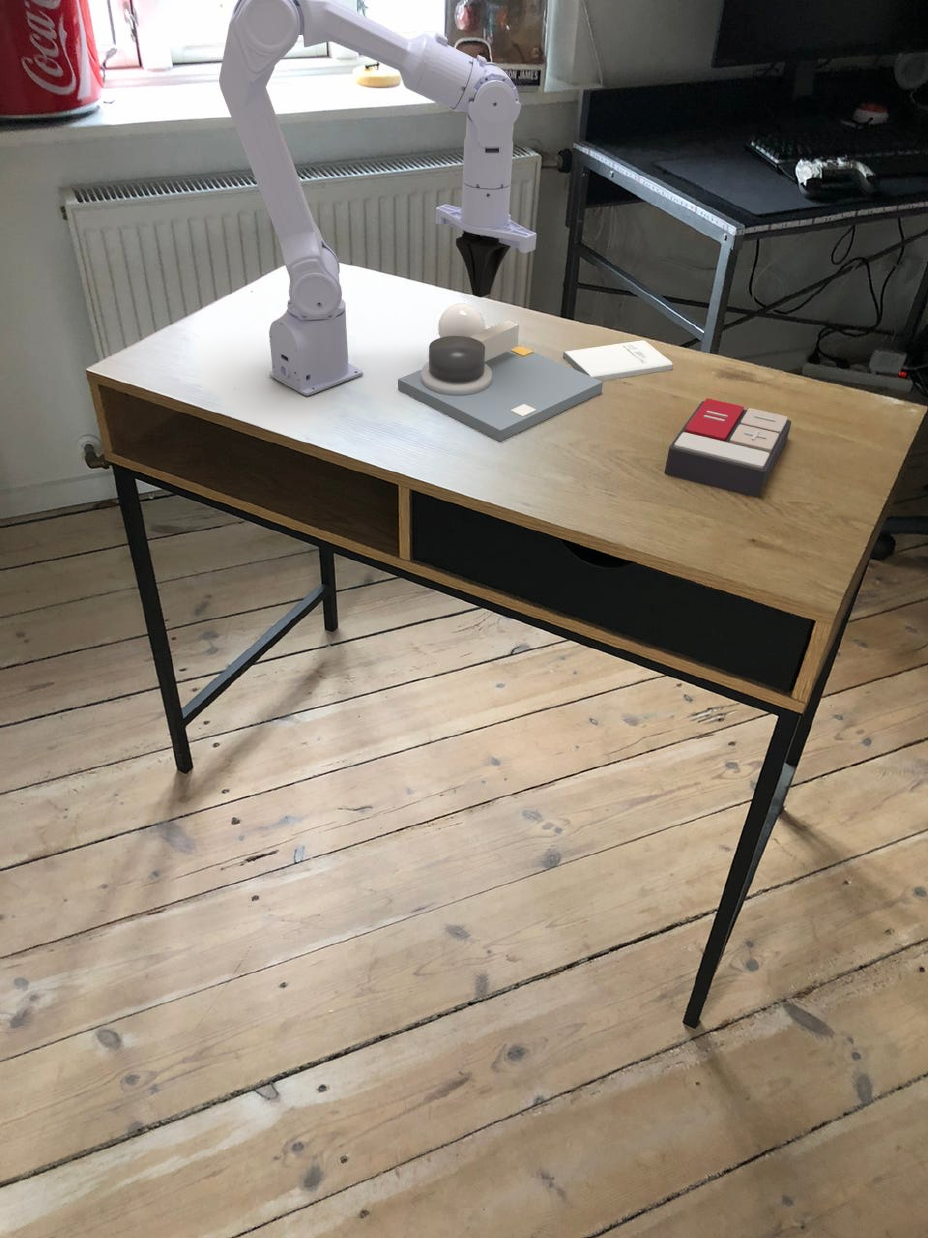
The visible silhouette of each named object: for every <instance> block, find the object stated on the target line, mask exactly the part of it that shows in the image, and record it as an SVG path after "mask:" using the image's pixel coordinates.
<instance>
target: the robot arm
mask: <svg viewBox="0 0 928 1238" xmlns="http://www.w3.org/2000/svg"><path fill="white" fill-rule="evenodd" d="M300 36H303V47H304V48H308V47H309V48H310V47H313V46H318V45H321V44H324V43H328V42H330V43H331V42H332V43H334V44H337V45H339V46H341V47H344V48H346V49H348V50H351V51H352V52H356V53H358V54H360V55H363V56H364V57H367V58H369V59H372V60H374V61H376V62H378V63H380V64H383V65H385V66H387V67H390V68H392V69H394V70H397V71H398V72H399V74H400V78H401V81H402V83H403V85H404V87H405V88H406V89H407V90H409V91H412V92H413V93H415V94H417V95H420V96H422V97H424V98H426V99H428V100H430V101H433V102H435V103H436V104H438V105H441V106H443V107H445V108H447V109H448V110H452V111H453V112H456V113H458V112H459V113H460V112H461V113H463V112H465V113H468V114H466V119H465V121H466V123H465V124H466V125H465V127H466V128H465V137H464V140H463V161H462V162H463V163H462V165H463V166H462V190H461V192H462V194H461V195H462V196H461V207H459V206H453V205H451V204H446V203H445V204H443V205H439V206H437V207H435V224H437V225H440V226H443V225H447V226H450V227H452V228H457V229H459V230H462V231H463V233H462V234H461V236H459V237H457V238H456V239H455V246H456V247H457V249H458V251H459V253H460V255H461V257H462V260H463V262H464V265H465V268H466V271H467V272H466V273H467V274H468V278H469V284H470V288H471V293H472V296H475V297H477V298H484V297H486V296H488V295H491V293H492V289H493V286H494V282H495V278H496V275H497V272H498V270H499V268H500V265H501V264H502V262H503V259H504V258H505V256H506V254H507V253H508V251H509V249H510V248H511V247H513V248H514V249H515V248H516V249H518V252H520V253H523V254H527V253H529V252H532V251H535V250H536V245H537V232H534V231H532V230H529V229H526V228H525V227H524V226H522V225H520V224H518V223H517V222H515V221H514V220H512V215H511V214H510V206H511V205H510V203H511V202H510V201H511V188H512V173H513V172H512V171H513V156H514V155H513V154H514V140H513V137H514V136H513V134H514V128H515V127H514V123H515V122H516V121H517V119H518V118H519V115H520V114H521V113H520V112H521V108H522V103H521V102H520V95H519V92H518V89H517V87H516V85H515V84H514V82H513V81H512V79H511V78H510V77H509V75H508V74H507V73H506V72H505V71H504V69H501V68H500V67H498V66H497V64H496V63H495V62H492V61H491V62H490V61H488V60H487V59H486V58H485V57H484V56H482V55H479V54H477V56H476V58H475V57H473V56H471V55H469V54H467V53H466V52H463V51H461V50H459V49H457V48H456V47H453V46H451V45H448V42H449V39H448V37H446V36H445V35H443V34H441V33H439V32H436V33H435V34H434V37H433V36H431V35H430V34H427V33H423V34H421V35H418V36H416V37H412V38H410V39H407V38H405V37H404V36H402V35H400V34H398V32H397V33H396V32H395V31H393V30H391V29H389V28H387V27H385V26H384V25H382V24H380V23H377V22H376V21H375V20H373V19H371V18H369V17H367V16H366V15H363V14H361V13H360V12H359V11H356V10H354V9H353V8H350V7H348V6H346V5H345V4H343V3H341V2H339V1H337V0H237V1H236V3H235V4H234V7H233V9H232V13H231V17H230V22H229V25H228V30H227V35H226V40H225V41H226V42H225V46H224V50H223V57H222V60H221V67H220V70H219V71H220V73H219V76H218V83H219V88H220V91H221V93H222V96H223V99H224V101H225V104H226V106H227V109H228V112H229V114H230V117H231V120H232V122H233V125H234V127H235V130H236V133H237V135H238V138H239V140H240V143H241V145H242V148H243V150H244V153H245V155H246V158H247V162H248V163H249V166H250V168H251V171H252V173H253V176H254V179H255V181H256V183H257V188H259V192H260V195H261V197H262V200H263V202H264V205H265V208H266V210H267V212H268V215H269V218H270V219H271V223H272V225H273V229H274V230H275V231H274V232H275V233H276V235H277V238H278V241H279V244H280V248H281V252H282V253H281V254H282V258H283V261H284V266H285V268H286V271H287V274H288V276H289V286H288V287H289V288H288V296H289V300H288V301H287V305H286V307H287V308H286V309H287V310H286V311H285V313H283V314H282V315H281V316H280V317H279V318H277V319H275V320H273V321H272V322H271V323H270V326H269V330H268V332H269V333H268V335H269V337H268V338H269V347H270V355H271V357H270V358H271V366H272V370H271V371H270V372H269V377H271V378H273V379H275V380H277V381H278V382H280V383H282V384H284V385H286V386H287V387H289V388H291V389H293V390H295V391H296V392H297V393H300V394H302V395H304V396H310V395H313V394H316V393H318V392H321V391H324V390H327V389H329V388H331V387H334V386H337V385H339V384H341V383H344V382H347V381H350V380H353V379H354V378H358V377H360V376H363V374H364V372H363V370H362V369H361V368H359V367H357V366H355V365H353V364H351V363H349V354H348V330H347V309H346V304H347V303H346V302H345V300H344V299H343V298H342V297H343V291H342V286H341V283H340V271H341V270H340V269H341V268H340V262H339V259H338V256H337V254H336V253H335V251H333V250H332V249H331V248H330V247H329V246H328V244H326V243H325V240H324V238H323V237H322V234H321V231H320V229H319V227H318V226H317V224H316V222H315V220H314V217H313V214H312V212H311V209H310V207H309V203H308V201H307V198H306V195H305V192H304V190H303V187H302V184H301V181H300V179H299V175H298V173H297V170H296V168H295V167H296V166H295V165H294V162H293V159H292V156H291V154H290V151H289V148H288V145H287V143H286V140H285V137H284V133H283V131H282V128H281V126H280V123H279V120H278V118H277V117H278V116H277V114H276V111H275V109H274V106H273V102H272V101H271V100H272V99H271V98H270V96H269V92H268V90H267V85H268V83H269V81H270V79H271V76H272V74H273V72H274V71H275V69H276V68H275V66H276V65H278V63H279V62H280V61H282V59H283V58H284V57H286V55H287V54H288V53H289V52H290V51H291V50H292V49H293V47H294V46H295V45H296V43H297V42H298V39H299V37H300Z"/></svg>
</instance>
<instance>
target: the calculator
mask: <svg viewBox="0 0 928 1238" xmlns="http://www.w3.org/2000/svg"><path fill="white" fill-rule="evenodd" d="M791 426H792V421H791V420H790V419H788V416H787V415H784V414H779V413H773V412H769V411H765V410H762V409H761V410H760V409H757V408H751V407H750V408H748V409H745V407H744V405H739V404H738V405H737V404H734V403H730V402H726V401H721V400H716V399H713V398H705V400H702V401H701V402H700V404H698V406H697V407H696V409H695V411H694V412H693V413H692V415H691V416H690V418H689V419H688V420H687V421H686V423H685V424H684V426H683V427H682V429H681V430H680V431H679V433H678V434H677V436H676V437H675V438H674V440H673V441H672V443H671V444H670V445H669V447H668V451H667V456H666V457H667V458H666V463H665V466H664V467H665V468H664V474H665V475H667V476H669V477H673V478H677V479H682V480H686V481H689V482H694V483H697V484H701V485H705V486H708V487H711V488H712V487H713V488H717V489H721V490H725V491H728V492H732V493H736V494H740V495H745V496H748V497H750V498H751V497H752V498H758V499H759V498H760V497H761V496H762V493H763V491H764V490H765V487H766V486H767V484H768V480H769V477H770V476H771V473H772V471H773V470H774V468H775V466H776V464H777V462H778V459H779V457H780V456H781V454H782V451H783V450H784V448H785V446H786V444H785V443H787V441H788V437H789V433H790V429H791Z"/></svg>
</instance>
